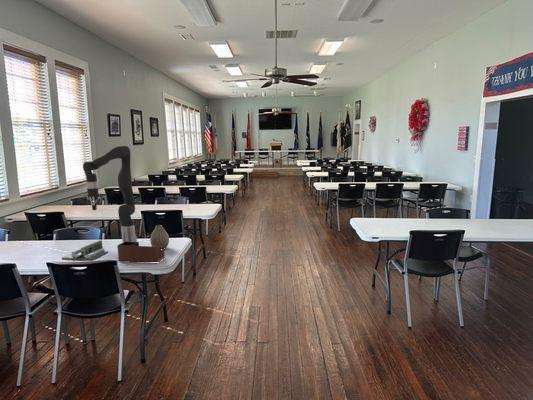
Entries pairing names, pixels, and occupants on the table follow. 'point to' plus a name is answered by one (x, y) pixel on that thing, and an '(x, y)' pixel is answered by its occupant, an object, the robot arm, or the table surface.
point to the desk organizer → (139, 253)
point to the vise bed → (69, 257)
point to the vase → (159, 237)
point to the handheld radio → (90, 248)
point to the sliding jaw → (76, 252)
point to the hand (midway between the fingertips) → (94, 210)
